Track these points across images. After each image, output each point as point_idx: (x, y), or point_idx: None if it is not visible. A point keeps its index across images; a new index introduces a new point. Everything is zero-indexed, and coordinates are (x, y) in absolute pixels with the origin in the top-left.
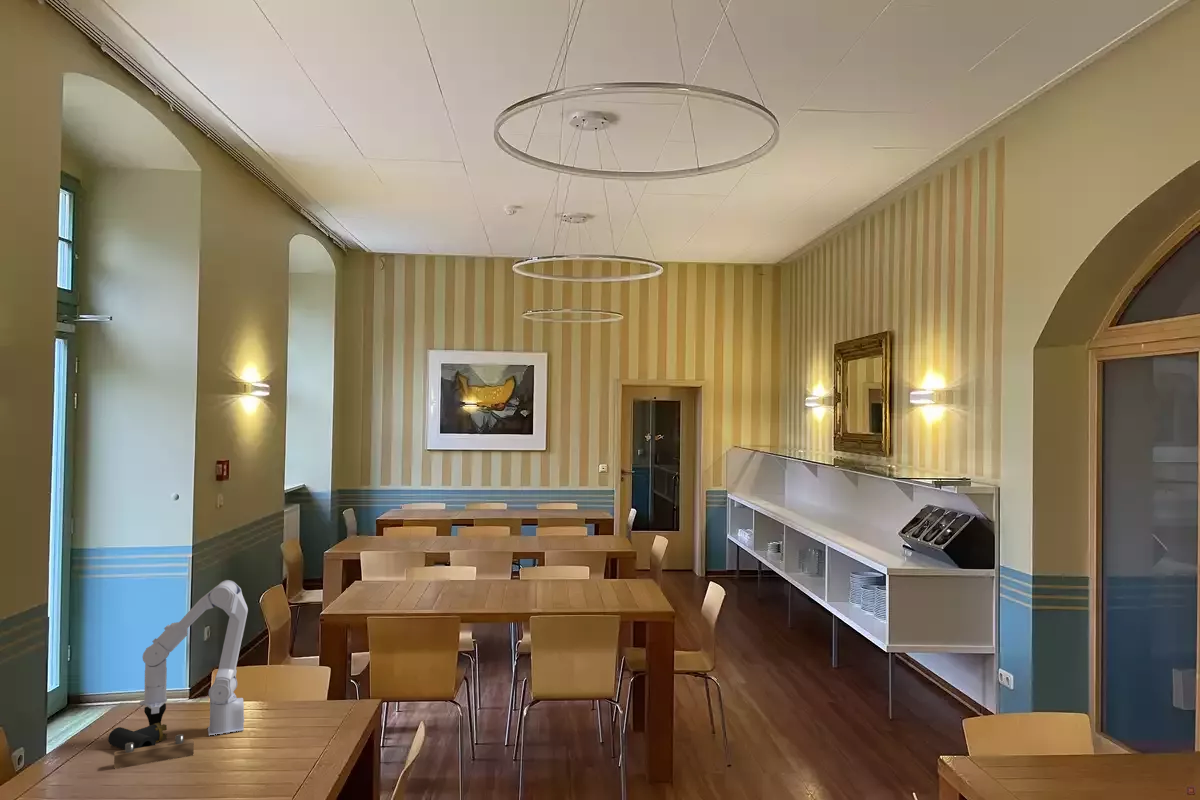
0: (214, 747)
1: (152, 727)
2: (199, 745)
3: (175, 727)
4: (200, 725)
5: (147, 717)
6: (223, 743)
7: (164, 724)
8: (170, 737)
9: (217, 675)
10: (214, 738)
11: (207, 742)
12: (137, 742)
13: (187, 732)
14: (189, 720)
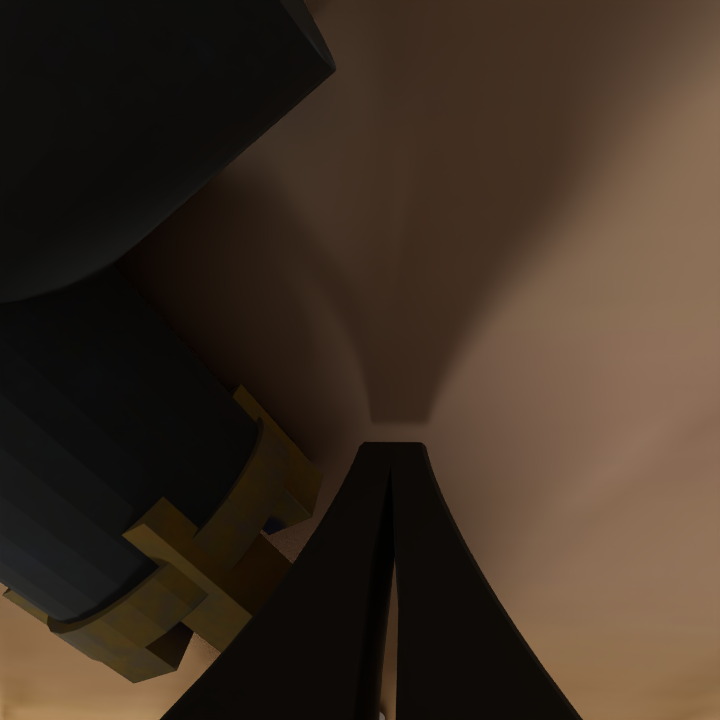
0: (15, 683)
1: (5, 582)
2: (56, 645)
3: (577, 581)
4: None
5: (196, 682)
6: (76, 711)
7: (159, 673)
8: (289, 539)
9: None
10: (170, 700)
11: (105, 674)
12: None
13: None
14: (708, 662)
